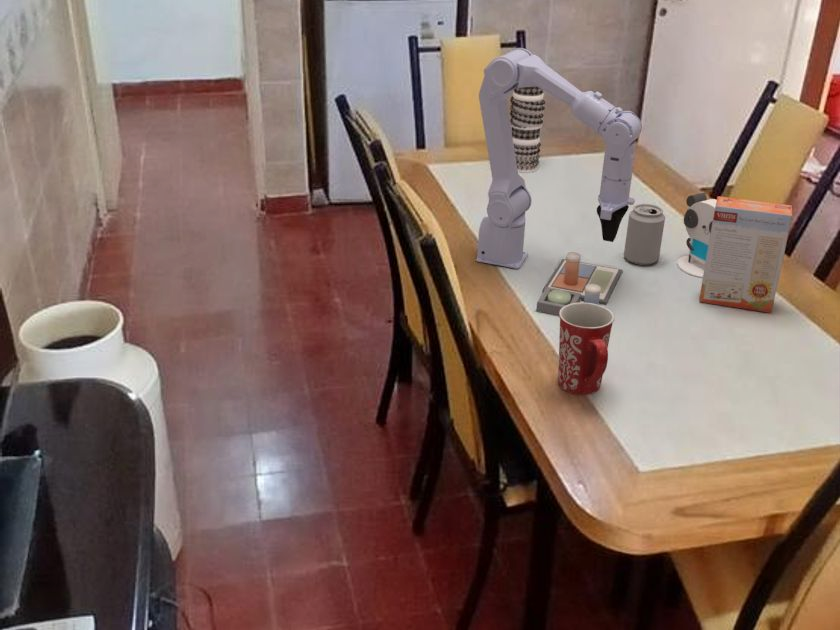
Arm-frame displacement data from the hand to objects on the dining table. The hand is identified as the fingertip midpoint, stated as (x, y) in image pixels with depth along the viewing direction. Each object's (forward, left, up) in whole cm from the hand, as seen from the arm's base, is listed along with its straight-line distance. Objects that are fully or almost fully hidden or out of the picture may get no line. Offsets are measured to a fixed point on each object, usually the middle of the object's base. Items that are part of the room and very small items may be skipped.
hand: (608, 239), depth 191 cm
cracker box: (+26, +3, -10) cm, 28 cm away
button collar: (-6, -14, -10) cm, 18 cm away
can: (+5, +15, -10) cm, 19 cm away
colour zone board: (-4, -1, -10) cm, 11 cm away
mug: (+5, -41, -10) cm, 42 cm away
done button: (-6, -13, -9) cm, 17 cm away
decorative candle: (-35, +60, -10) cm, 70 cm away
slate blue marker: (0, -14, -10) cm, 17 cm away
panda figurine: (+18, +17, -10) cm, 27 cm away
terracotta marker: (-6, -4, -9) cm, 12 cm away
